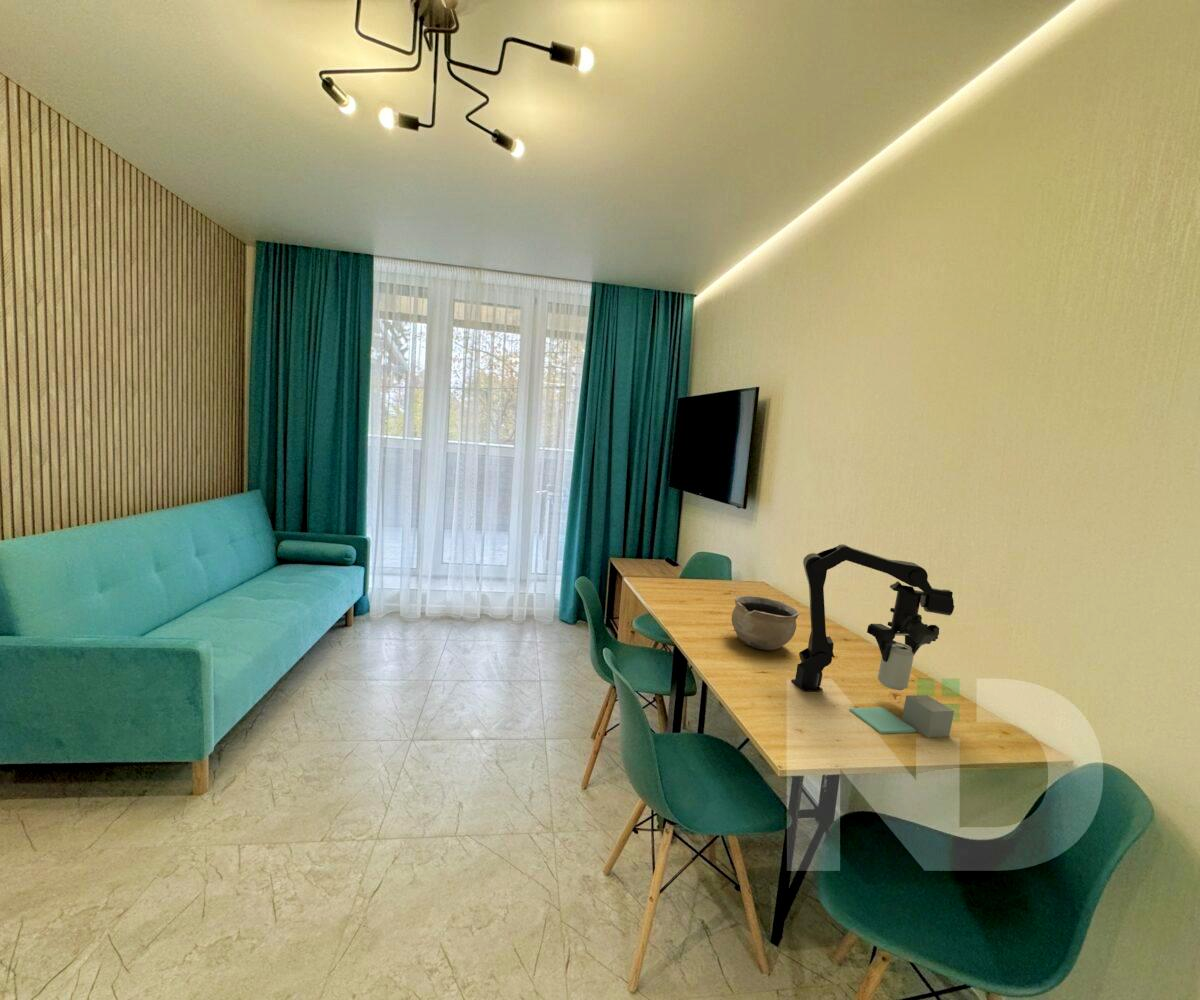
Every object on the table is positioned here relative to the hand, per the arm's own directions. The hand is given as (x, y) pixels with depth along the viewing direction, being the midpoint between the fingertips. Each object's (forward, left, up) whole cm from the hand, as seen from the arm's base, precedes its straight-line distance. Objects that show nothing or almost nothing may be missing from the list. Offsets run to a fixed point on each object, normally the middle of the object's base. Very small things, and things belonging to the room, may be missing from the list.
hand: (896, 661), depth 143 cm
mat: (-10, -8, -13) cm, 18 cm away
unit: (0, -12, -13) cm, 18 cm away
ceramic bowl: (-16, +41, -13) cm, 46 cm away
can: (0, 0, -7) cm, 7 cm away
